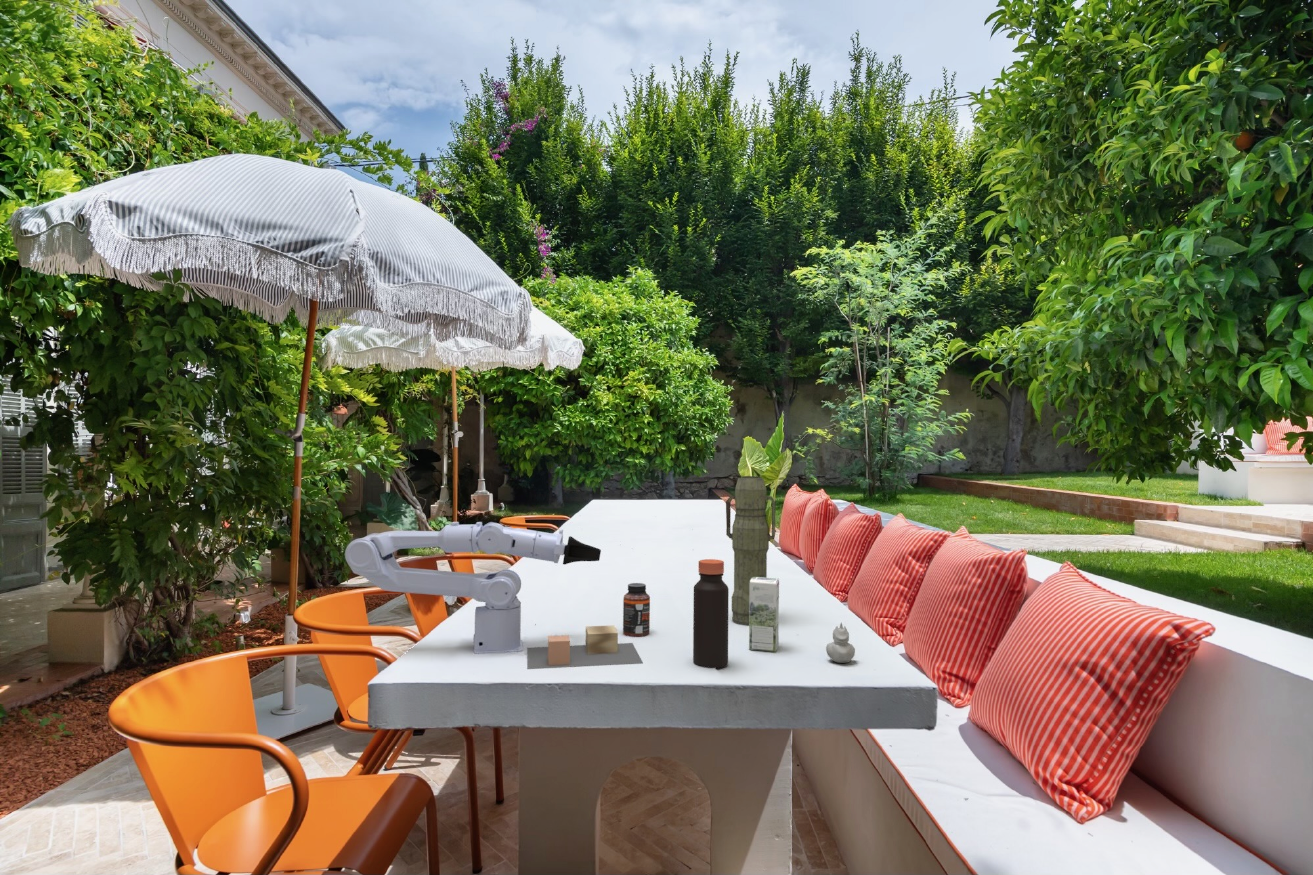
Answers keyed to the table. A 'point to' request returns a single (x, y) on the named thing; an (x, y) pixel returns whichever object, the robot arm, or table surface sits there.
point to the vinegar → (710, 616)
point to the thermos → (748, 540)
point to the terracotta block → (558, 650)
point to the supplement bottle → (636, 611)
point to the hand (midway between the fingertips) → (600, 555)
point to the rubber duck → (840, 646)
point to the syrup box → (763, 614)
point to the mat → (584, 657)
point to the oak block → (601, 639)
